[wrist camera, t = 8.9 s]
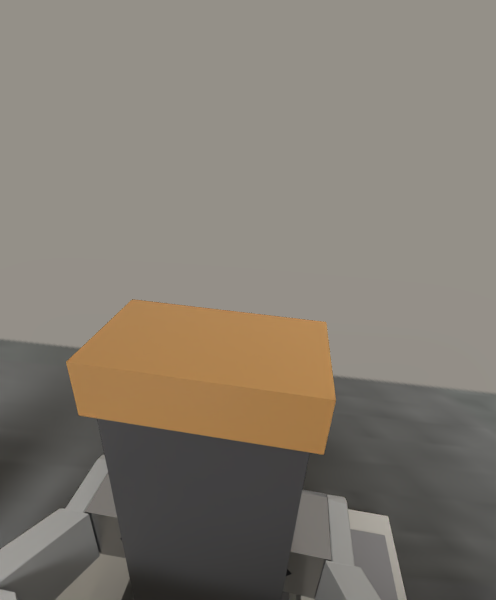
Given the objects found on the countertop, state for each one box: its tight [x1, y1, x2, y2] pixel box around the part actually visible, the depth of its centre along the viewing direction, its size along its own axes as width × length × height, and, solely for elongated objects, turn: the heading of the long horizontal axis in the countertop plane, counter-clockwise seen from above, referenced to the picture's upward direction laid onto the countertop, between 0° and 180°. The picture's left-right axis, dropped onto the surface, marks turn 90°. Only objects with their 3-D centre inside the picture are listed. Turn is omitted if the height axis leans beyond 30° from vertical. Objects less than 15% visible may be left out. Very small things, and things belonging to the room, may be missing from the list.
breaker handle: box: [66, 299, 336, 600], centre depth 9 cm, size 5×3×12 cm, turn 82°
